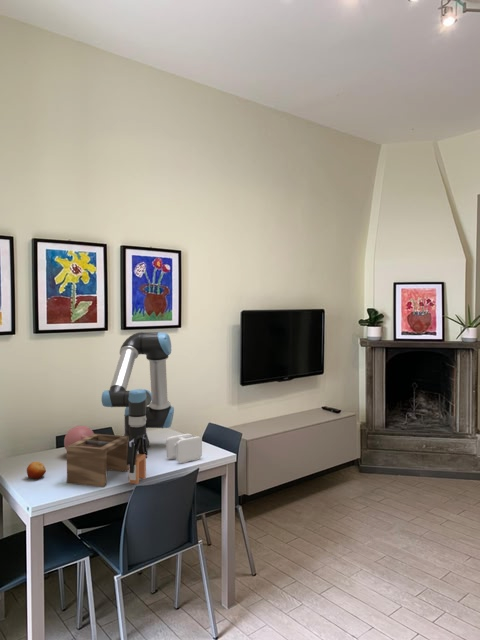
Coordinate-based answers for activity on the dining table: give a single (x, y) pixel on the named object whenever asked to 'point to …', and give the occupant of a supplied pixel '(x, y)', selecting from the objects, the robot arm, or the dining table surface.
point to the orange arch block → (139, 468)
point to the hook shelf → (96, 459)
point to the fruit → (35, 470)
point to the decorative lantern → (77, 435)
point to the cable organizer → (184, 448)
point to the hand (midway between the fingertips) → (137, 476)
